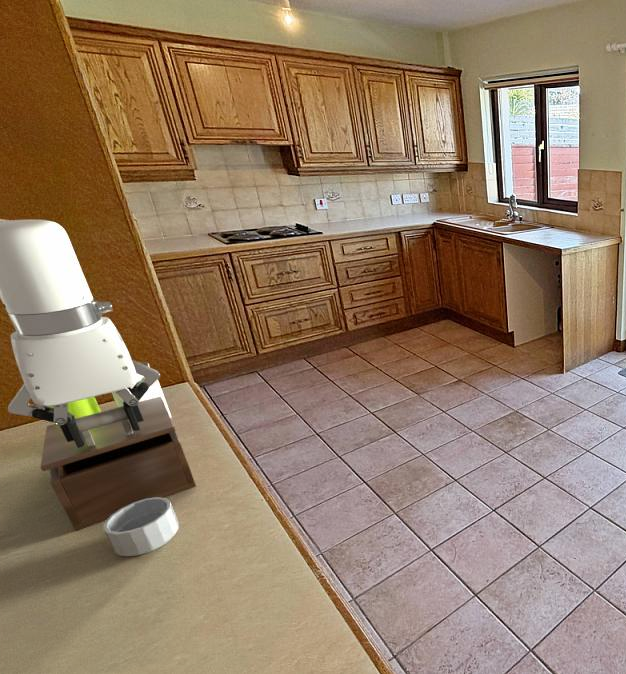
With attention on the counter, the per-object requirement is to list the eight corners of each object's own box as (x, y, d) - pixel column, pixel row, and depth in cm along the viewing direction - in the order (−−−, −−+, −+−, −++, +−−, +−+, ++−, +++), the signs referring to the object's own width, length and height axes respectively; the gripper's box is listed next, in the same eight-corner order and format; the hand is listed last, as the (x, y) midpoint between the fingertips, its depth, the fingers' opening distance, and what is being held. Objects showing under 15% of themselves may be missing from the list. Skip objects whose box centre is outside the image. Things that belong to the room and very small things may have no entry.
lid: (175, 431, 72) (164, 400, 70) (42, 471, 62) (26, 437, 61) (162, 400, 83) (152, 372, 82) (48, 430, 74) (34, 400, 72)
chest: (196, 486, 77) (179, 441, 73) (75, 531, 67) (50, 482, 64) (177, 441, 87) (162, 400, 83) (71, 475, 78) (48, 430, 74)
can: (166, 411, 95) (146, 358, 91) (177, 422, 92) (156, 368, 87) (123, 425, 90) (99, 369, 86) (132, 438, 87) (108, 381, 82)
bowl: (103, 563, 63) (90, 538, 61) (133, 525, 69) (122, 501, 67) (164, 553, 65) (154, 528, 63) (189, 517, 71) (180, 494, 69)
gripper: (142, 297, 69) (180, 403, 77) (-45, 325, 58) (21, 447, 65) (149, 311, 65) (189, 422, 72) (-53, 345, 53) (19, 474, 60)
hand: (108, 433), depth 68 cm, fingers closed on lid, 5 cm apart
